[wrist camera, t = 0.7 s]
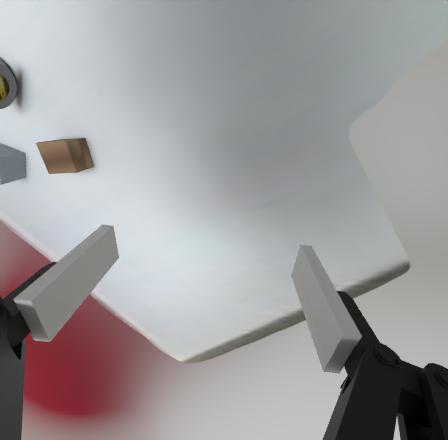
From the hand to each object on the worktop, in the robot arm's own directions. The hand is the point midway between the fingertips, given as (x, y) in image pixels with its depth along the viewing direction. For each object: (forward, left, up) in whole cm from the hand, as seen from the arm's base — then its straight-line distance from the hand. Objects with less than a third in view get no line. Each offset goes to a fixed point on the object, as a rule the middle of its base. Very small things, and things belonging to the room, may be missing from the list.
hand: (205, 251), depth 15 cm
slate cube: (+4, -40, -27) cm, 49 cm away
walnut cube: (+1, -27, -27) cm, 38 cm away
